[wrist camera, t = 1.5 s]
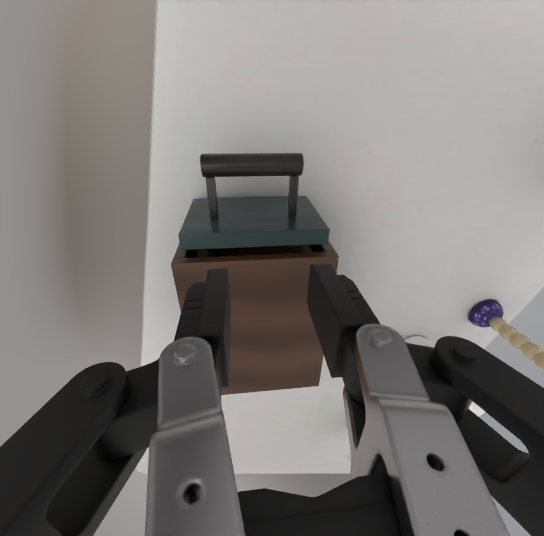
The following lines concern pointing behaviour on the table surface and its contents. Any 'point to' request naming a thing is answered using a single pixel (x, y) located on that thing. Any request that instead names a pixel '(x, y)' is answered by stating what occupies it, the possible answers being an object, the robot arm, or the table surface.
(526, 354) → the toy lamp
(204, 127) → the table surface
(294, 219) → the drawer
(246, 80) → the table surface
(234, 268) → the cabinet
